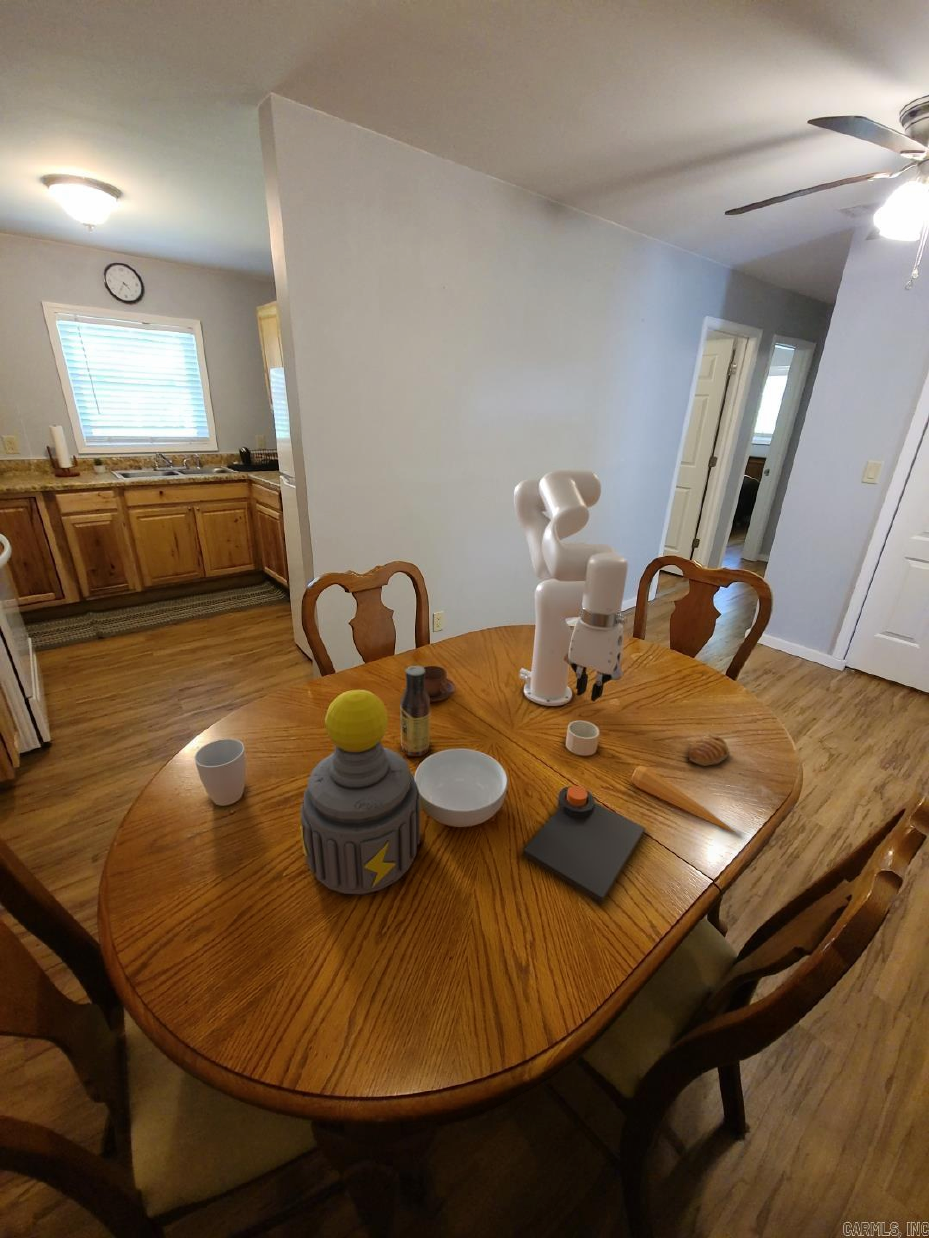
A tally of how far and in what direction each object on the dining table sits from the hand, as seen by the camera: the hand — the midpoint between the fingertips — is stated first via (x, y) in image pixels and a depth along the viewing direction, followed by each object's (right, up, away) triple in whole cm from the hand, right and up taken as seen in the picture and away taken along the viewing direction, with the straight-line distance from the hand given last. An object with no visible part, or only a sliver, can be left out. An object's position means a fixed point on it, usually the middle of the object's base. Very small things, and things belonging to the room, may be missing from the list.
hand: (588, 695), depth 107 cm
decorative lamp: (-43, -22, -23) cm, 54 cm away
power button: (-6, -17, -15) cm, 23 cm away
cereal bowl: (-27, -19, -13) cm, 36 cm away
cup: (-71, -17, -13) cm, 74 cm away
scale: (-6, -22, -21) cm, 31 cm away
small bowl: (0, -12, +5) cm, 13 cm away
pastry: (+27, -14, +3) cm, 30 cm away
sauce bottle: (-37, -12, +2) cm, 39 cm away
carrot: (+14, -20, -12) cm, 27 cm away
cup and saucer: (-35, -3, +24) cm, 42 cm away
